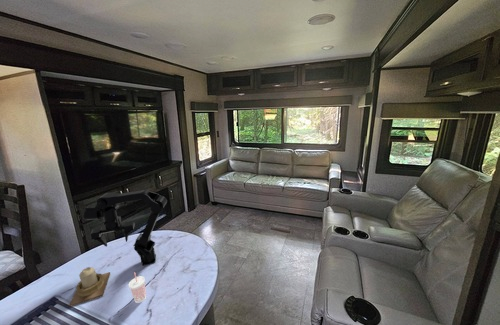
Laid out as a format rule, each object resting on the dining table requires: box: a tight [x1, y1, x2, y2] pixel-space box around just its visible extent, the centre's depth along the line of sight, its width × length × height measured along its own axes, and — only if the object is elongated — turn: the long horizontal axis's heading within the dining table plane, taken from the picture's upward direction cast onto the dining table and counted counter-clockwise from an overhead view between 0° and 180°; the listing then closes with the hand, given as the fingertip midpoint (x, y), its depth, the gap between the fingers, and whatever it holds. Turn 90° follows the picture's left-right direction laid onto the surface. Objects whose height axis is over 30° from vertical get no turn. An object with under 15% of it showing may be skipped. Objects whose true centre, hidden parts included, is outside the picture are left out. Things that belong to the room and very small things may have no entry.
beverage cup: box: [128, 271, 147, 304], centre depth 87 cm, size 6×6×14 cm
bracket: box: [68, 271, 111, 307], centre depth 94 cm, size 12×14×4 cm
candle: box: [79, 266, 98, 289], centre depth 93 cm, size 6×6×10 cm
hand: (116, 243), depth 106 cm, fingers open, 9 cm apart
